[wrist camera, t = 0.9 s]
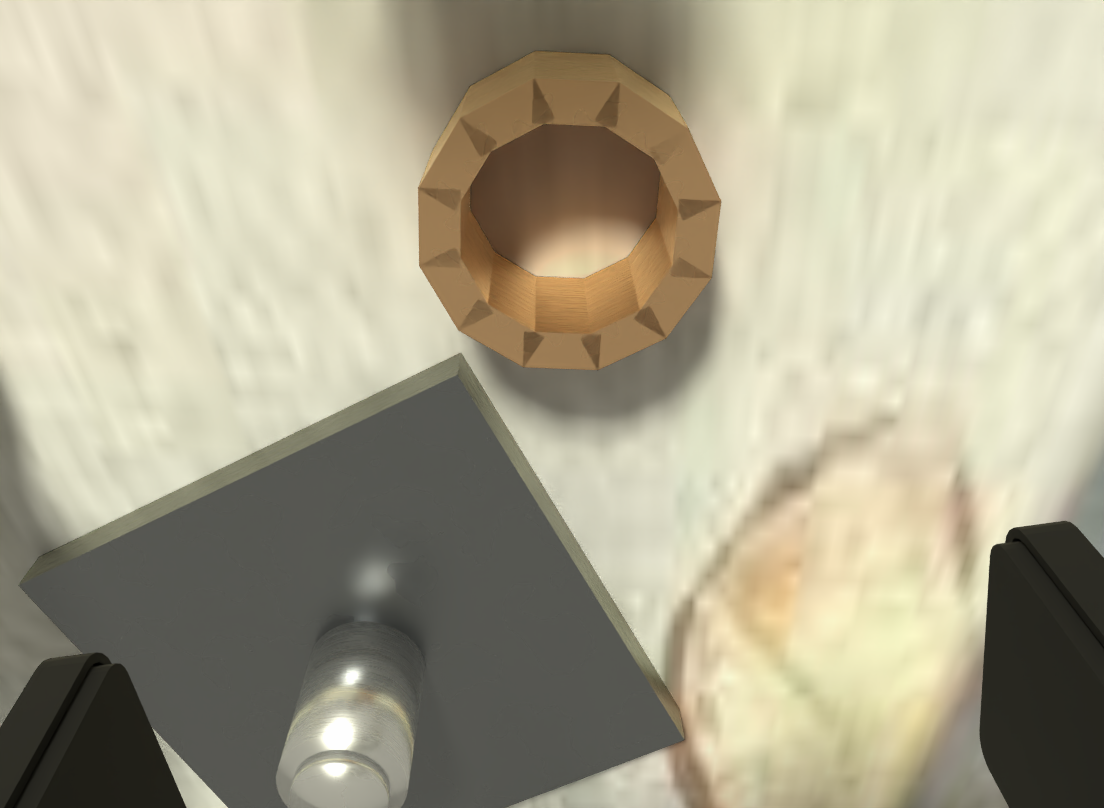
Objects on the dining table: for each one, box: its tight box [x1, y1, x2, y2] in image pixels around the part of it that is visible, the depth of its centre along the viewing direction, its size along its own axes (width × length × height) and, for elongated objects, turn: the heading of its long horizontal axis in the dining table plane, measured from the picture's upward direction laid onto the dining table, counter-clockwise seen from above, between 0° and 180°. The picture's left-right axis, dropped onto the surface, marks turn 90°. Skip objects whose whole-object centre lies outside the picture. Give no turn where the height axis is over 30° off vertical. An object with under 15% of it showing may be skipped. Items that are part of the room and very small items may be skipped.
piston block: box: [18, 353, 685, 808], centre depth 32 cm, size 16×16×7 cm
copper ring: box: [418, 51, 721, 370], centre depth 27 cm, size 7×7×4 cm
